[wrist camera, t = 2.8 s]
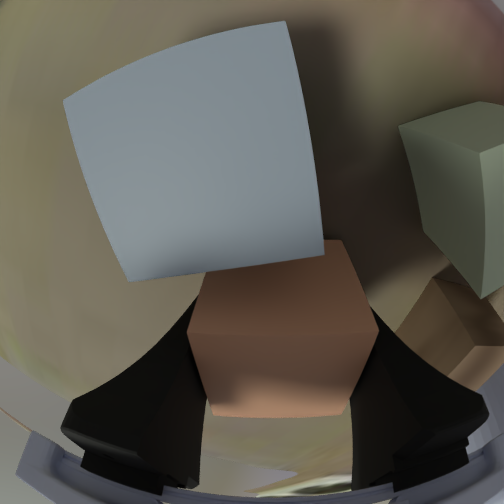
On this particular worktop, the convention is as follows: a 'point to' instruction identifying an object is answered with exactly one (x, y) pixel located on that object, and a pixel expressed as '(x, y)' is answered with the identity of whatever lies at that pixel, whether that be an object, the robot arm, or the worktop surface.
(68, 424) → the robot arm
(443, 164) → the sage cube
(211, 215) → the slate cube
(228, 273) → the terracotta cube
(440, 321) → the walnut cube
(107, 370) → the worktop surface
